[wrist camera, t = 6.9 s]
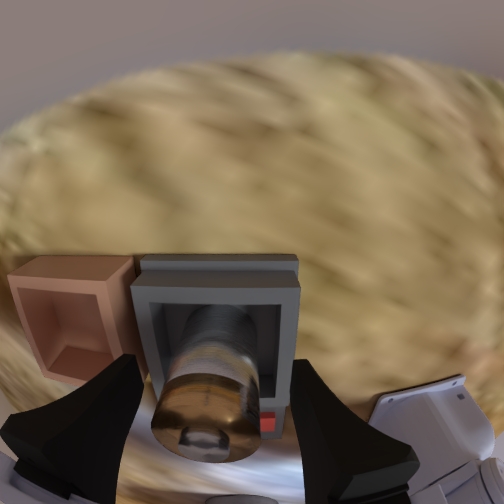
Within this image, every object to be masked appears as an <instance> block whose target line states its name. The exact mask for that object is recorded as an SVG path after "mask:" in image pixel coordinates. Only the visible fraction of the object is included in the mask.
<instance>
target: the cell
mask: <svg viewBox="0 0 504 504" xmlns="http://www.w3.org/2000/svg"><path fill="white" fill-rule="evenodd" d="M151 430H152V433H153V435H154V436H155V438H156V439H157V440H158V441H159V442H160V443H161V444H162V445H163V446H164V447H165V448H167V449H168V450H170V451H172V452H173V453H175V454H177V455H180V456H182V457H185V458H188V459H191V460H195V461H199V462H206V463H227V462H234V461H238V460H241V459H244V458H246V457H248V456H250V455H251V454H253V453H254V452H255V451H256V450H257V449H258V448H259V446H260V444H261V423H260V398H259V372H258V347H257V330H256V327H255V324H254V322H253V321H252V319H251V318H250V317H249V316H248V315H247V314H246V313H245V312H244V311H242V310H241V309H239V308H237V307H235V306H232V305H229V304H207V305H204V306H202V307H199V308H198V309H196V310H195V311H194V312H192V314H191V315H190V316H189V317H188V319H187V321H186V324H185V326H184V329H183V332H182V335H181V337H180V340H179V343H178V346H177V348H176V351H175V354H174V357H173V360H172V362H171V365H170V368H169V371H168V374H167V377H166V380H165V383H164V385H163V388H162V391H161V394H160V397H159V400H158V403H157V406H156V409H155V412H154V415H153V418H152V422H151Z"/></svg>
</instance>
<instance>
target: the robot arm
mask: <svg viewBox="0 0 504 504" xmlns="http://www.w3.org/2000/svg"><path fill="white" fill-rule="evenodd" d="M465 379H466V377H465V376H464V375H460V376H457V377H454V378H450V379H447V380H444V381H440V382H437V383H433V384H429V385H425V386H421V387H417V388H413V389H409V390H405V391H400V392H395V393H391V394H385V395H383V396H381V397H380V398H379V399H378V401H377V404H376V406H375V409H374V411H373V413H372V416H371V418H370V420H369V422H368V423H366V422H365V421H363V420H362V419H361V418H359V417H358V416H357V415H356V414H354V413H353V412H352V411H351V410H350V409H349V408H347V407H346V406H345V405H344V404H343V403H342V402H341V401H340V400H339V399H338V398H337V397H336V396H335V394H334V393H333V392H332V391H331V390H330V389H329V388H328V386H327V385H326V384H325V383H324V382H323V380H322V379H321V378H320V376H319V375H318V374H317V372H316V371H315V370H314V368H313V367H312V365H311V364H310V362H309V361H308V360H307V359H299V360H293V364H292V373H291V382H290V390H289V392H290V403H291V411H292V416H293V420H294V424H295V429H296V433H297V437H298V441H299V446H300V451H301V457H302V466H303V476H304V488H305V504H504V463H503V462H502V461H501V460H500V459H499V458H490V456H491V453H492V452H493V449H494V443H495V437H494V430H493V427H492V425H491V423H490V421H489V420H488V418H487V417H486V415H485V414H484V413H483V411H482V410H481V408H480V407H479V406H478V404H477V403H476V402H475V400H474V399H473V397H472V396H471V395H470V393H469V392H468V391H467V390H466V388H465V387H464V386H463V383H464V381H465ZM143 390H144V383H143V379H142V376H141V373H140V370H139V366H138V363H137V359H136V355H134V354H126V353H124V354H122V355H121V356H120V357H118V358H117V359H116V360H115V361H113V362H112V363H111V364H110V365H109V366H107V367H106V368H105V369H104V370H102V371H101V372H100V373H99V374H97V375H96V376H95V377H93V378H92V379H91V380H89V381H88V382H87V383H85V384H84V385H82V386H81V387H79V388H78V389H76V390H75V391H73V392H71V393H70V394H68V395H66V396H64V397H62V398H60V399H58V400H56V401H54V402H52V403H49V404H47V405H45V406H42V407H39V408H36V409H33V410H29V411H25V412H21V413H16V414H11V415H10V416H9V417H8V419H7V420H6V422H5V423H4V425H3V426H2V428H1V429H0V436H1V438H2V439H3V441H4V442H5V443H6V444H7V445H8V447H9V448H10V449H11V450H12V451H13V452H14V453H15V455H16V456H17V457H18V458H19V459H18V461H17V462H16V461H14V460H13V459H12V458H11V457H9V456H7V455H6V454H4V453H2V452H1V451H0V500H1V501H2V502H3V503H5V504H115V501H116V488H117V480H118V473H119V467H120V462H121V457H122V453H123V448H124V444H125V441H126V438H127V435H128V433H129V430H130V428H131V425H132V423H133V420H134V418H135V415H136V413H137V410H138V408H139V405H140V402H141V398H142V394H143Z"/></svg>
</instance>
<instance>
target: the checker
mask: <svg viewBox="0 0 504 504" xmlns="http://www.w3.org/2000/svg"><path fill="white" fill-rule="evenodd" d="M140 266H141V274H140V275H139V276H138V278H137V279H136V280H135V281H134V282H133V283H132V284H131V285H130V287H131V293H132V298H133V304H134V309H135V314H136V319H137V324H138V328H139V333H140V337H141V341H142V346H143V350H144V354H145V358H146V362H147V365H148V369H149V373H150V376H151V380H152V384H153V387H154V390H155V394H156V397H157V400H159V397H160V394H161V391H162V388H163V385H164V383H165V380H166V377H167V374H168V371H169V368H170V365H171V362H172V360H173V357H174V354H175V351H176V348H177V346H178V343H179V340H180V337H181V335H182V332H183V329H184V326H185V324H186V321H187V319H188V317H189V316H190V315H191V314H192V312H194V311H195V310H196V309H198V308H199V307H202V306H204V305H207V304H229V305H232V306H235V307H237V308H239V309H241V310H242V311H244V312H245V313H246V314H247V315H248V316H249V317H250V318H251V319H252V321H253V322H254V324H255V327H256V330H257V347H258V372H259V398H260V423H261V439H281V438H282V431H283V424H284V416H285V408H286V406H289V400H290V392H289V390H290V382H291V373H292V364H293V360H294V358H295V348H296V338H297V328H298V317H299V305H300V292H301V287H300V284H299V281H298V266H299V260H298V258H297V256H296V255H145V256H144V257H143V258H142V259H141V260H140Z"/></svg>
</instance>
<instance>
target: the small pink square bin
mask: <svg viewBox="0 0 504 504" xmlns="http://www.w3.org/2000/svg"><path fill="white" fill-rule="evenodd" d="M7 278H8V281H9V285H10V289H11V292H12V296H13V299H14V302H15V305H16V309H17V312H18V315H19V318H20V320H21V323H22V326H23V329H24V331H25V334H26V337H27V339H28V342H29V344H30V346H31V349H32V351H33V354H34V356H35V358H36V360H37V363H38V365H39V367H40V369H41V371H42V373H43V375H44V377H47V378H50V379H53V380H57V381H60V382H64V383H67V384H71V385H75V386H79V387H81V386H82V385H84V384H85V383H87V382H88V381H89V380H91V379H92V378H93V377H95V376H96V375H97V374H99V373H100V372H101V371H102V370H104V369H105V368H106V367H107V366H109V365H110V364H111V363H112V362H113V361H115V360H116V359H117V358H118V357H120V356H121V355H122V354H124V353H126V354H134V355H136V359H137V363H138V366H139V370H140V373H141V376H142V379H143V383H144V382H145V380H146V378H147V375H148V373H149V369H148V365H147V362H146V358H145V354H144V350H143V346H142V341H141V337H140V333H139V328H138V324H137V319H136V314H135V309H134V304H133V298H132V293H131V287H130V285H131V284H132V283H133V282H134V281H135V280H136V272H135V265H134V257H133V256H38V257H36V258H35V259H33V260H31V261H29V262H28V263H26V264H24V265H23V266H21V267H19V268H17V269H16V270H14V271H12V272H11V273H9V274H8V275H7Z"/></svg>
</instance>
